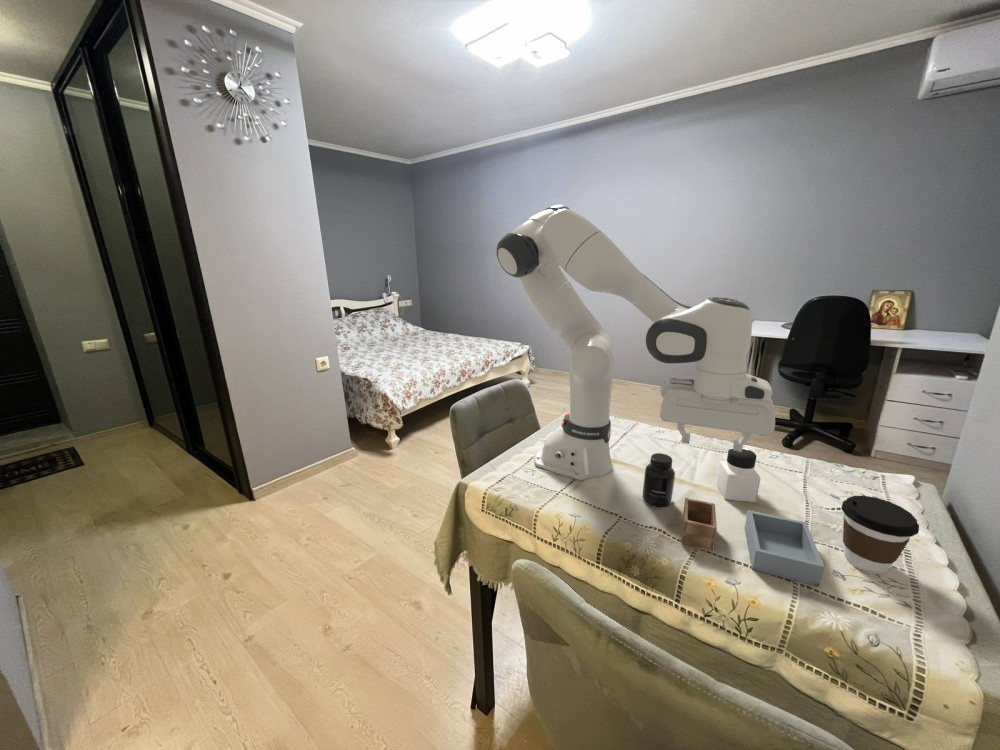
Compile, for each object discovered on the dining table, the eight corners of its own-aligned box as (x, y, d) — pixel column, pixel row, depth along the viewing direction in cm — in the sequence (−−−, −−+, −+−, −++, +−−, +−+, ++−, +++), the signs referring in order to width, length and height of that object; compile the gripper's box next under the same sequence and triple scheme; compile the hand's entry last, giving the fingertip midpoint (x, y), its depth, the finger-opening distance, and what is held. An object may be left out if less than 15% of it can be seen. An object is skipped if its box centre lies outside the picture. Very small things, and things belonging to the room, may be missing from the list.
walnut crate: (681, 544, 85) (684, 520, 84) (682, 520, 93) (685, 497, 91) (712, 552, 83) (716, 528, 81) (711, 526, 91) (714, 503, 89)
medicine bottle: (756, 502, 99) (764, 459, 95) (724, 499, 100) (731, 456, 96) (745, 486, 105) (753, 445, 102) (715, 484, 107) (722, 443, 103)
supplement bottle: (653, 511, 96) (658, 466, 93) (636, 495, 103) (640, 453, 99) (677, 505, 98) (683, 462, 95) (659, 490, 104) (664, 449, 101)
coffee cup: (832, 568, 78) (846, 516, 74) (827, 536, 87) (839, 488, 83) (909, 593, 72) (929, 537, 69) (896, 556, 81) (912, 504, 77)
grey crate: (752, 569, 78) (755, 550, 77) (744, 527, 90) (747, 510, 89) (819, 586, 74) (824, 566, 73) (801, 540, 86) (806, 522, 84)
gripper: (659, 381, 81) (654, 443, 85) (782, 393, 71) (770, 462, 75) (663, 372, 86) (658, 432, 90) (778, 383, 77) (767, 448, 81)
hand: (710, 446), depth 83 cm, fingers open, 8 cm apart
